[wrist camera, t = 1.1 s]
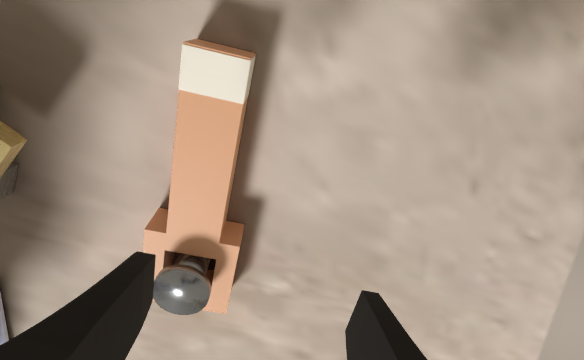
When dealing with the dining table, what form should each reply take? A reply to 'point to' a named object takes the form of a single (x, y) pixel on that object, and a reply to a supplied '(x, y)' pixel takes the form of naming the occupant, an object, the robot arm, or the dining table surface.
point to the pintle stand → (168, 283)
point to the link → (205, 165)
